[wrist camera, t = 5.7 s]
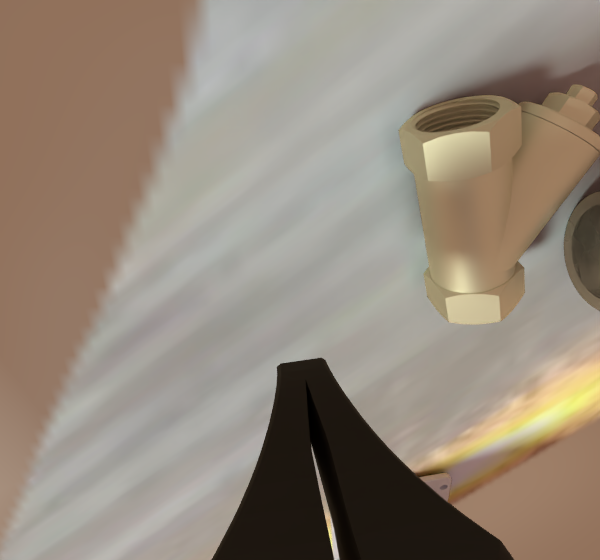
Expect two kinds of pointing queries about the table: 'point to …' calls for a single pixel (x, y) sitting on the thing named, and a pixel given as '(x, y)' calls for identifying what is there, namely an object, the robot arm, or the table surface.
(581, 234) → the pipe stub
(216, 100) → the table surface
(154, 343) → the table surface
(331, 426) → the robot arm
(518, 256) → the pipe fitting
